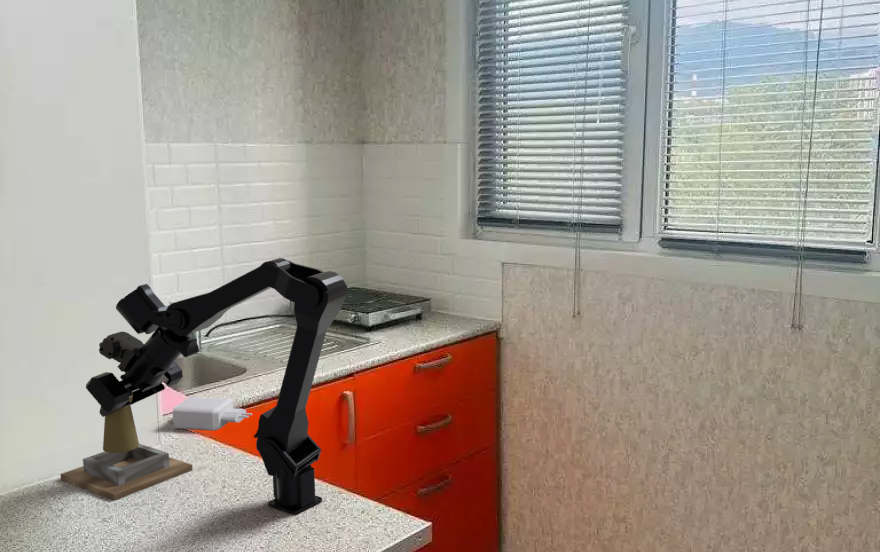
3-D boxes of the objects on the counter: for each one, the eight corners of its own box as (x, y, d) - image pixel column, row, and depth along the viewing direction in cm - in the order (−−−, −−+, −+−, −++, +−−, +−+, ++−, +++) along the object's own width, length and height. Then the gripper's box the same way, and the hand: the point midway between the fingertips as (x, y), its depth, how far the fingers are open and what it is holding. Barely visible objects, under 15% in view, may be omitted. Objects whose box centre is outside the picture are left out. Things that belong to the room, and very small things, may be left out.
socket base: (192, 469, 159) (191, 451, 158) (114, 500, 146) (113, 480, 145) (138, 452, 168) (137, 434, 167) (60, 479, 155) (59, 460, 154)
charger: (241, 434, 178) (173, 430, 181) (259, 419, 187) (194, 416, 190) (240, 412, 177) (172, 408, 180) (258, 398, 186) (192, 395, 189)
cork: (138, 439, 158) (133, 380, 157) (140, 449, 153) (135, 389, 151) (102, 444, 156) (97, 384, 155) (103, 455, 151) (98, 393, 149)
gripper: (164, 308, 158) (120, 363, 164) (89, 330, 141) (43, 391, 147) (203, 353, 157) (157, 407, 162) (133, 381, 139) (84, 440, 145)
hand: (112, 410), depth 154 cm, fingers closed on cork, 5 cm apart
